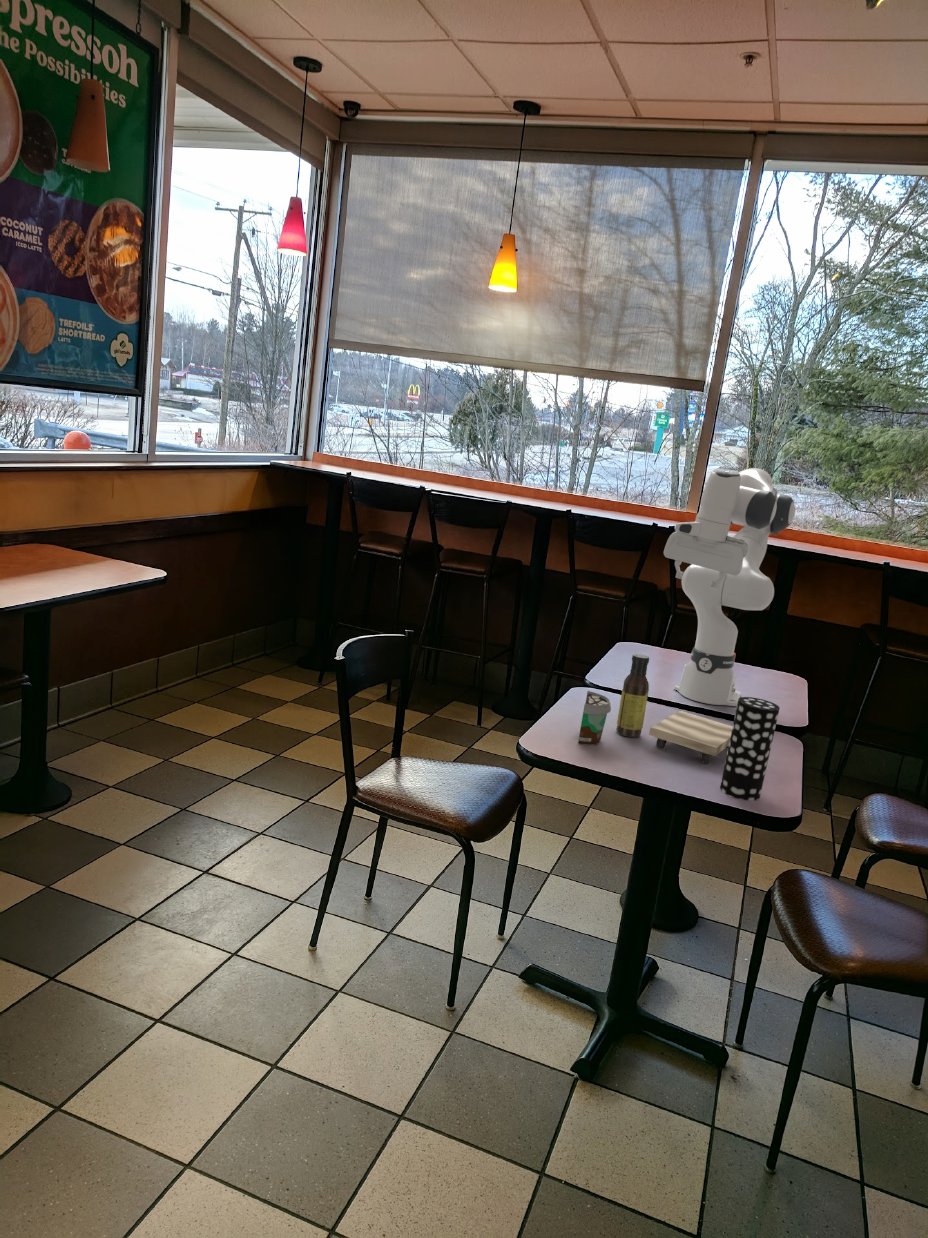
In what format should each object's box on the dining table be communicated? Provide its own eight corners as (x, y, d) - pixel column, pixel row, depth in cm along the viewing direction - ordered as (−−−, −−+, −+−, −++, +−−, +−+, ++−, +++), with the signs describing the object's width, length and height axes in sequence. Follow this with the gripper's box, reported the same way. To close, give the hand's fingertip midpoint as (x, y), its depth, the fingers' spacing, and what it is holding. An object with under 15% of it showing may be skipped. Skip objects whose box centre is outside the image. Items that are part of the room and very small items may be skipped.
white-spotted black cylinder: (768, 800, 182) (788, 710, 178) (734, 800, 179) (754, 709, 175) (744, 784, 190) (763, 697, 185) (712, 784, 187) (730, 696, 183)
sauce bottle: (645, 738, 211) (660, 659, 207) (625, 739, 209) (639, 660, 204) (630, 728, 217) (644, 652, 213) (609, 729, 214) (623, 652, 210)
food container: (604, 750, 199) (611, 709, 196) (577, 745, 200) (584, 704, 197) (606, 734, 210) (613, 694, 208) (581, 729, 211) (587, 690, 209)
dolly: (676, 729, 222) (679, 710, 220) (737, 748, 213) (742, 729, 212) (646, 746, 205) (650, 727, 204) (712, 768, 197) (716, 747, 196)
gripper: (751, 540, 224) (737, 592, 227) (674, 521, 231) (661, 571, 234) (749, 542, 218) (734, 594, 221) (670, 522, 225) (656, 573, 229)
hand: (696, 582), depth 228 cm, fingers open, 8 cm apart
